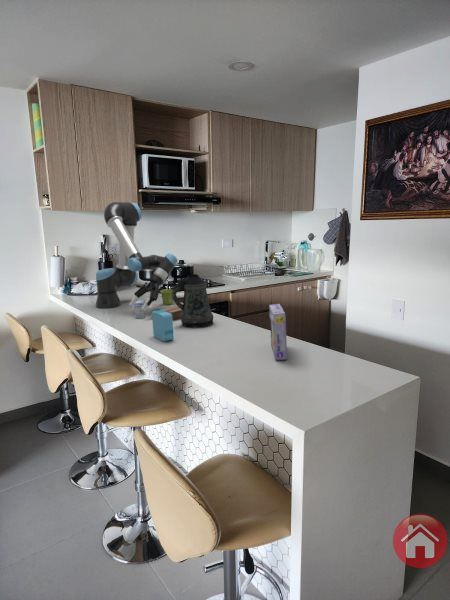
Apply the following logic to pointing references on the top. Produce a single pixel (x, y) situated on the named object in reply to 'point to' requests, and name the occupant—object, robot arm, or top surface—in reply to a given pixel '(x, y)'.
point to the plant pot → (167, 297)
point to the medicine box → (139, 309)
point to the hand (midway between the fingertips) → (137, 308)
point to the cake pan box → (278, 331)
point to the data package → (162, 325)
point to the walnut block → (174, 312)
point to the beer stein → (193, 302)
